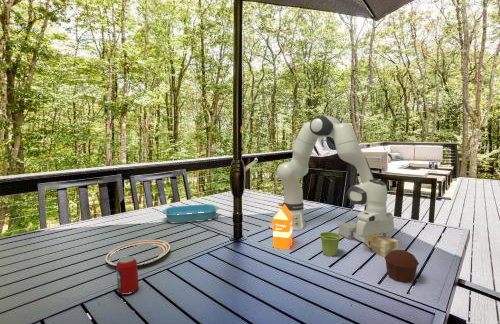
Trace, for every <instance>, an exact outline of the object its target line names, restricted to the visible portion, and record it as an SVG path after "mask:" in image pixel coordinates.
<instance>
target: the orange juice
mask: <svg viewBox="0 0 500 324" xmlns="http://www.w3.org/2000/svg"><path fill="white" fill-rule="evenodd" d="M279 210H280V211H279ZM279 210H278V211H279V212H278V211H277V212H278V213H277V212H276V213H277V215H276V216H275V217H274V219H273V229H272V230H273V231H272V238H273V239H272V240H273V241H272V242H273V243H272V246H273V247H274V248H273V249H276V248H280V249H279V250H284V249H287V250H286V251H289V250H290V248H291V247H292V245H293V230H292V214H291V213H290V211H289V210H288V208H287V207H286V205H285V204H284V205H283V206H280V209H279ZM290 246H291V247H290Z"/></svg>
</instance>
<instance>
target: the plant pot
mask: <svg viewBox="0 0 500 324" xmlns="http://www.w3.org/2000/svg"><path fill="white" fill-rule="evenodd" d="M319 237H320V240H321V249H322V254H323V255H325V256H328V257H334V256H337V253H338V248H339V243H340V239H341V238H342V236H340V235H339V234H338V233H336V232H334V231H333V232H332V231H322V232H320V233H319Z"/></svg>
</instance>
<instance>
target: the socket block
mask: <svg viewBox="0 0 500 324" xmlns="http://www.w3.org/2000/svg"><path fill="white" fill-rule="evenodd" d="M381 236H382V235H381ZM399 245H400V244H399V240H398V239H395V238H392V237H391V236H388V235H387V236H382V237H377V238H373V249H372V253H375V254H376V255H378V256H381V257H382V258H384V257H385V256H386V255H387V254H388V253H389V252H391V251H393V250H399Z"/></svg>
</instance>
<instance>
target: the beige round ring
mask: <svg viewBox="0 0 500 324" xmlns="http://www.w3.org/2000/svg"><path fill="white" fill-rule="evenodd" d="M141 244H153V245H157V246H158V247H160V248H161V249H162V253H161V254H160V255H159V256H158V257H157V258H155V259H154V260H151V261H148V262H145V263H141V264H137V267H138V265H139V266H143V264H144V265H146V264H150V263H153V262H155V261H158V260H159V259H161V258H163V257H164V256H165V255H166V254H168V253H169V251H170V249H171V245H170V244H169V243H168V242H167V241H164V240H162V239H161V240H160V239H144V240H137V241H133V242H129V243H125V244H123V245H119V246H118V247H116V248H114V249H112V250H111V251H109V252H108V254H107V255H106V256H105V262H106V263H107V264H109V265H111V266H116V264H114V263H112V262H110V260H109V257H110V256H111V255H112V254H113V253H115V252H116V251H119V250H120V249H123V248H127V247H130V246H135V245H141Z"/></svg>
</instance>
